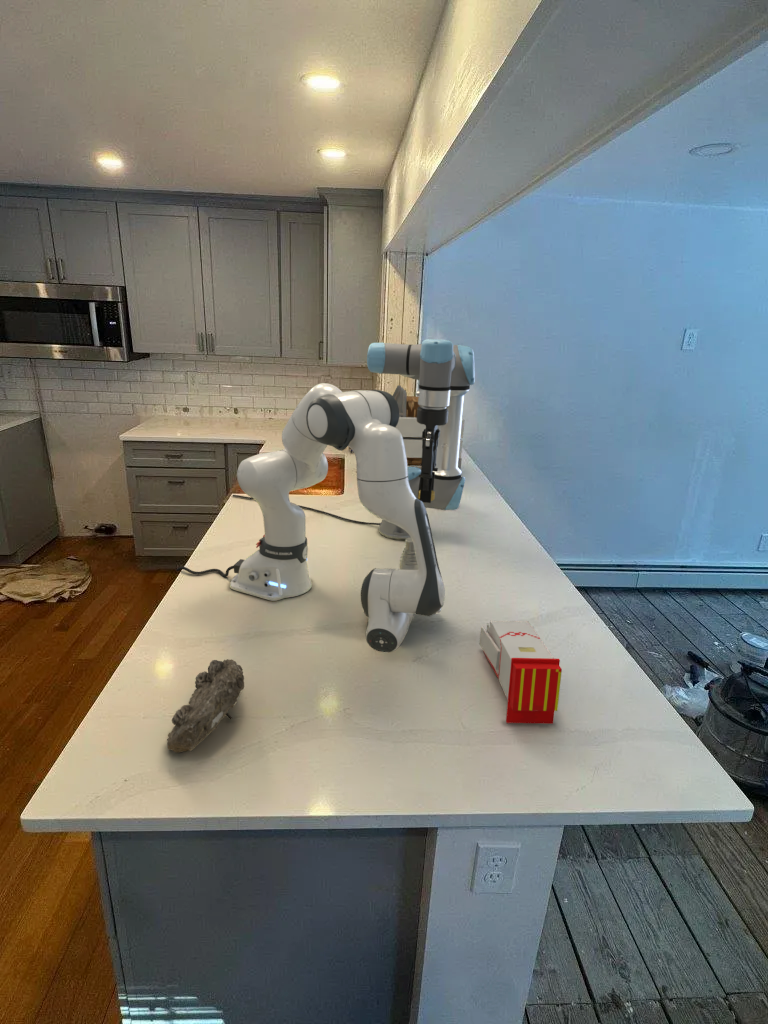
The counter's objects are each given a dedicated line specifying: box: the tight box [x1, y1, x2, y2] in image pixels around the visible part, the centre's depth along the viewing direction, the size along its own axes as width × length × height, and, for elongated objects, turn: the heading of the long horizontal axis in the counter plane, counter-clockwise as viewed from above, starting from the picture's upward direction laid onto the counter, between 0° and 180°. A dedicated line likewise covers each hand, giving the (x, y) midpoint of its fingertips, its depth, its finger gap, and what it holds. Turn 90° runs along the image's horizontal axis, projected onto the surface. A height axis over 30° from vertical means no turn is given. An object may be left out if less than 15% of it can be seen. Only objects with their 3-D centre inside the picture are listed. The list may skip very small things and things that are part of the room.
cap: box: [418, 490, 435, 501], centre depth 144 cm, size 4×4×2 cm
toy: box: [478, 620, 563, 725], centre depth 121 cm, size 12×13×30 cm
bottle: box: [398, 538, 419, 570], centre depth 149 cm, size 5×5×19 cm
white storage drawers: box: [392, 384, 465, 471], centre depth 268 cm, size 34×33×41 cm
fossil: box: [166, 658, 245, 754], centre depth 106 cm, size 22×10×15 cm
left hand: (408, 582), depth 151 cm, fingers closed on bottle, 5 cm apart
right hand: (426, 498), depth 144 cm, fingers closed on cap, 4 cm apart
